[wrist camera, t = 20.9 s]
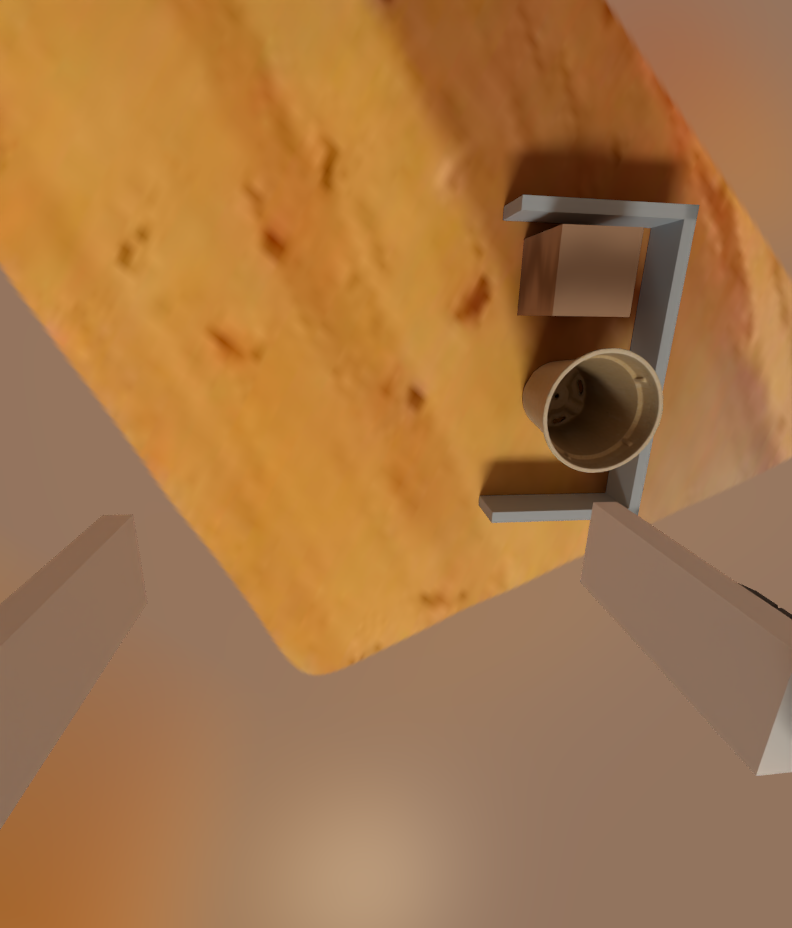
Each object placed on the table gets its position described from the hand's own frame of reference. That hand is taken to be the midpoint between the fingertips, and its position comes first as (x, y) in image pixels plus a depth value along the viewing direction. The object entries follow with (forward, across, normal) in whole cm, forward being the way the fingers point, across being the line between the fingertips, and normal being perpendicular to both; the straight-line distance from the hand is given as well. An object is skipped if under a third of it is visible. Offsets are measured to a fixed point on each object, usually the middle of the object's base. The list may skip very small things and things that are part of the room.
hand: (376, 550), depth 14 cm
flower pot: (+29, +19, 0) cm, 34 cm away
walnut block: (+29, +18, +10) cm, 35 cm away
